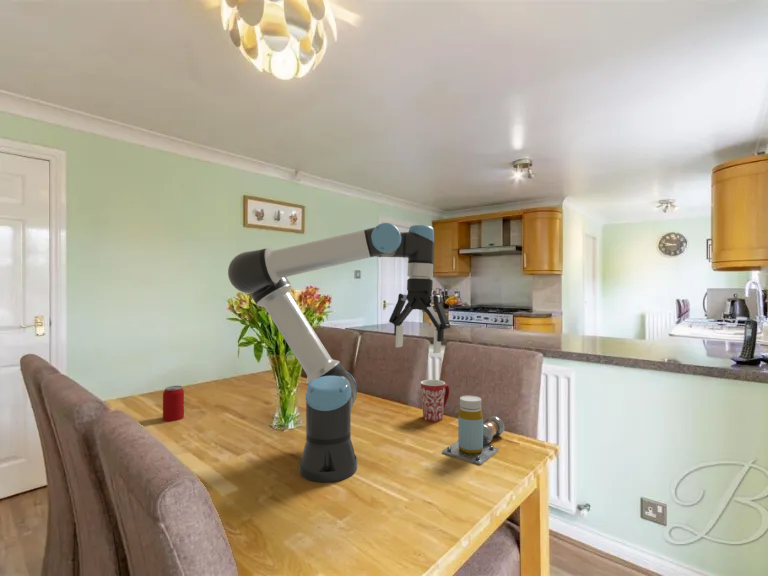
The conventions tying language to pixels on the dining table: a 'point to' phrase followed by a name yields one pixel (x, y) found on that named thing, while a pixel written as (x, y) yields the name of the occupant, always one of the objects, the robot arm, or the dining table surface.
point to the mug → (434, 399)
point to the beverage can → (173, 403)
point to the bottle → (470, 425)
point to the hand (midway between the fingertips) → (417, 349)
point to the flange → (490, 429)
